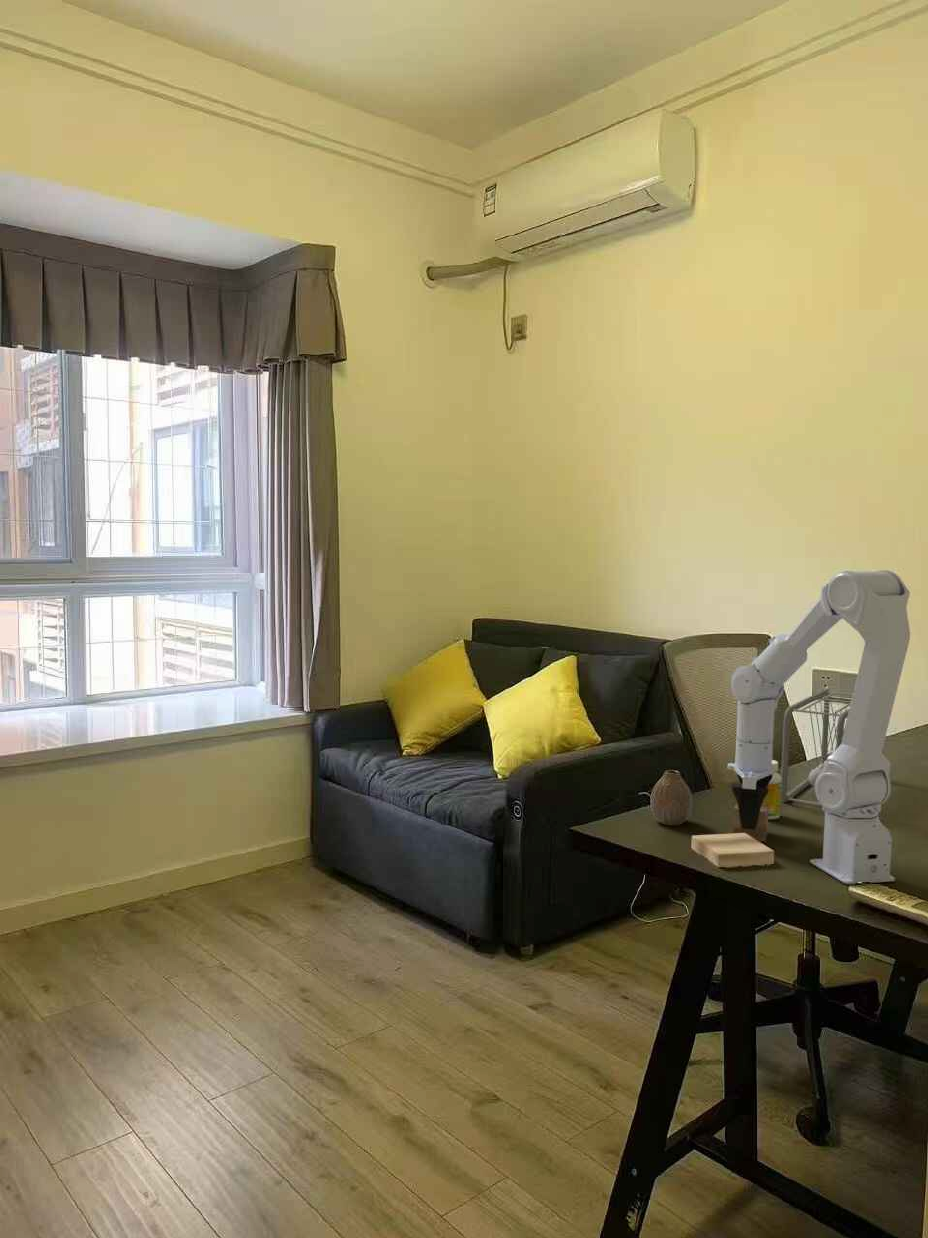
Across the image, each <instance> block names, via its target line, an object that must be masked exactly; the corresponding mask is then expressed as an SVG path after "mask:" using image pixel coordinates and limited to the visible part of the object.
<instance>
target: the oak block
mask: <svg viewBox="0 0 928 1238" xmlns="http://www.w3.org/2000/svg"><path fill="white" fill-rule="evenodd" d="M691 848H692V849H691V850H693V851H694V852H696V853H697V855H699V856H701V855H702V856H704V857H705V858H707V859H708V860H709V861H710V862H709V861H708V860H707V861H708V862H709V863H711V862H712V863H713V864H714V865H713V864H712V863H711V864H712V865H713V866H715V865H716V866H717V867H725V868H736V867H737V868H739V867H738V866H742V867H753V866H752V865H758V866H771V865H770V864H775V863H774V862H775V850H773V849H771V848H770V847H768V846H767V845H765V844H764V843H762V842H761V841H757V840H755V839H754V838H752V837H751V836H749V835H747V834H746V833H733V832H732V833H714V834H698V835H691ZM702 856H701V857H702ZM704 857H703V858H704ZM705 858H704V859H705ZM765 864H767V865H765ZM749 865H750V866H749ZM716 866H715V867H716ZM717 867H716V868H717Z"/></svg>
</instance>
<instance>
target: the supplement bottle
mask: <svg viewBox="0 0 928 1238" xmlns="http://www.w3.org/2000/svg"><path fill="white" fill-rule="evenodd" d="M772 768H773V773H772V774H773V776H772V779H771V780H770V782H769V784H768V786H767V788H768V789H769V791H768V793H767V795H766V796H765V798H764V800H763V803H764V804H769V807H768V820H776V819H779V818H780V816H781V803H782V799H781V783H782V778H781V774H779V773H778V772H777V771H779V761H777V760H774V759H772Z"/></svg>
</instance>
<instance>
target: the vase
mask: <svg viewBox="0 0 928 1238" xmlns="http://www.w3.org/2000/svg"><path fill="white" fill-rule="evenodd" d="M690 790H691V789H690V788H689V786H688V784H686V782H685V781H684V779H683V778H682V776H681V773H680V771H678V770H673V769H668V770H665V771H664V773H663V775H662V776H661V777H660V778H659V780H658V781H657V782H655V784H654V786H653V788H652V791H651V795H650V802H649V803H650V810H651V813H652V816H653V817H654V818H655V819H656V821H657V822H658V823H660V824H662V825H665V826H680V825H682V824H684V823H685V822H686V820H687V819H689V817H690V814H691V811H692V805H693V800H692V799H693V798H692V792H691V791H690Z"/></svg>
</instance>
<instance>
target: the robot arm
mask: <svg viewBox="0 0 928 1238" xmlns="http://www.w3.org/2000/svg"><path fill="white" fill-rule="evenodd" d="M910 594H911V592H910V590H909V588H907V585H906V584H905V583H904V582H903V580H902V579H901V577H900V576H899V575H898V574H897V573H894V571H891V570H887V569H883V570H876V571H852V570H842V571H839V572H836V573H835V574H834V575H833V576H832V577H831V579H830V581H829V582H828V583H826V584H825V585H823V586H822V588H821V592H820V596H819V598H818V599H817V600H816V602H815V603H814V604H813V605H812V607H810V609H809V610H808V611H807V613H806V614H805V615H804V616H803V617H802V618H801V619H800V621H799V622H798V624H797V625H796V626H794V628H793V630H792V631H791V632H790V633H789V634H779V635H777V636H772V637H771V638H770V639H769V640H768V643H769V645H767V647H766V648H765V649H764V650H763V651H762V652H761V653H760V654H759V655H758V656H755V657H753V658H752V662H751V663H750V664H749V665H748V666H744V665H743V666H739V667H737V668H736V669H735V671H734V673H733V675H732V676H731V679H730V689H731V693H732V694H733V696H734V699H736V700H737V713H736V714H737V717H736V733H735V734H736V736H735V740H736V741H735V758H734V763H732V762H728V763H727V767H726V768H727V770H730V771H734V772H735V773H736V776H737V777H738V780H739V783H738V782H732V783H731V791H732V793H733V795H734V797H735V800H736V802H737V804H738V808H739V815H740V822H741V826H742V828H744V829H752V830H755V828H756V826H757V822H758V818H759V813H760V808H761V805H762V803H763V800H764V798H765V796H766V795H767V793H768V791H769V789H768V788H767V786H768V784H769V782H770V780H771V779H772V776H773V774H772V773H773V768H772V760H773V745H774V743H773V742H774V728H775V727H774V724H775V712H776V710H777V709H778V702H779V699H780V698H781V697H782V696H783V693H784V689H785V683H786V682H787V681H789V679H790V678H791V677H792V676H793V675H795V673H796V672H798V670H799V669H800V668H801V667H803V665H804V664H805V663H806V662H807V660H808V650H809V649H810V647H812V646H813V645H814V644H815V643H816V642H817V641H818V640H820V638H822V637H823V636H824V635H825V634H826V633H828V631H830V630H831V629H832V628H833V627H834V626H835V625H836V624H838V622H839V621H841V620H843V621H845V622H846V623H847V624H849V626H851V628H853V629H854V630H855V631H857V633H858V634H860V636H861V637H862V639H863V640H864V647H863V651H862V655H861V660H860V663H859V666H858V667H859V668H858V671H857V674H856V675H857V676H856V680H855V685H854V689H853V692H852V694H853V696H851V699H850V700H851V701H850V703H851V705H850V706H849V708H850V709H849V708H848V709H849V713H848V717H847V718H846V720H847V722H846V721H845V724H846V726H845V725H844V728H845V730H844V734H843V738H842V743H841V745H840V746H839V747H838V748H837V749H836V750H835V749H834V750H833V751H832V752H831V754H829V755H830V756H829V757H828V756H827V761H826V765H825V767H824V769H823V771H822V772H821V773H820V774H819V775H818V777H817V779H816V783H815V787H814V792H815V796H816V799H817V801H818V803H820V804H821V805H822V806H821V805H820V806H821V807H822V811H823V812H824V827H823V829H824V830H823V844H822V845H823V846H822V848H823V849H822V858H813V859H810V860H809V863H810V864H811V865H813V866H815V867H816V868H818V869H820V870H822V871H823V872H824V873H827V874H828V875H830V876H832V877H833V878H835V879H837V880H838V881H840V882H842V883H843V884H845V885H855V883H858V882H870V883H872V884H873V883H886V882H887V883H888V882H895V881H896V878H895V876H892V875H891V863H892V862H891V861H892V843H893V841H892V836H891V835H892V834H891V832H890V831H889V829H888V828H887V827H886V826H884V825H883V824H882V822H881V821H880V818H879V813H880V812H881V810H882V804H884V803H886V802H887V800H888V799H889V797H890V795H891V789H892V787H891V786H892V785H891V780H890V769H891V765H892V764H891V762H890V761H889V759H888V758H887V757H886V756H885V755H884V754H883V753H882V752H883V750H884V749H883V748H884V743H885V740H886V736H887V733H888V728H889V724H890V719H891V716H892V712H893V707H894V704H895V699H896V696H897V692H898V688H899V683H900V680H901V677H902V672H903V668H904V664H905V659H906V656H907V651H908V649H909V648H908V647H909V644H910V638H911V630H910V623H909V617H908V609H907V607H908V602H909V599H910ZM870 883H869V884H870Z"/></svg>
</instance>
